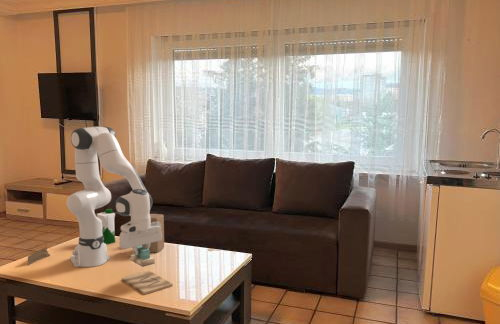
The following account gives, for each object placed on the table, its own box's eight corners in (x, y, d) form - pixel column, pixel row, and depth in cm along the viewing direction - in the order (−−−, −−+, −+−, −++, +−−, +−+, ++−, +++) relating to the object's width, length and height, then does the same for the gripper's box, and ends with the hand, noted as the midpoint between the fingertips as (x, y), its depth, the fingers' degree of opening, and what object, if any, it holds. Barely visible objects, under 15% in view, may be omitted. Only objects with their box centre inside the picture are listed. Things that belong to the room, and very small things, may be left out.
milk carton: (117, 242, 253) (116, 209, 250) (103, 245, 246) (102, 212, 244) (109, 239, 258) (108, 207, 256) (96, 242, 251) (94, 210, 249)
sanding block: (130, 260, 196) (129, 246, 195) (141, 257, 200) (141, 244, 200) (142, 266, 187) (142, 252, 187) (154, 263, 191) (154, 249, 191)
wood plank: (30, 265, 213) (29, 256, 213) (26, 265, 214) (26, 256, 213) (50, 255, 228) (49, 247, 228) (46, 255, 229) (46, 246, 228)
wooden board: (121, 279, 195) (121, 277, 195) (148, 272, 205) (148, 270, 205) (144, 294, 179) (144, 292, 179) (172, 285, 189) (172, 283, 189)
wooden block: (157, 253, 233) (156, 218, 231) (141, 252, 235) (140, 217, 233) (164, 247, 243) (164, 214, 240) (148, 246, 245) (148, 213, 242)
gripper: (157, 219, 201) (158, 247, 203) (117, 227, 187) (118, 257, 189) (164, 221, 197) (165, 250, 198) (123, 230, 183) (124, 260, 184)
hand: (141, 253), depth 193 cm, fingers closed on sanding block, 3 cm apart
